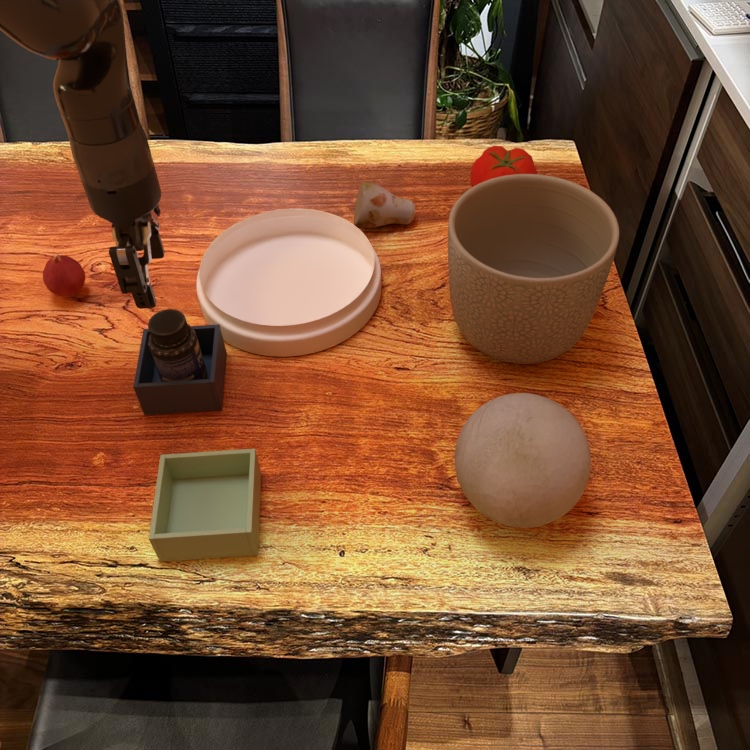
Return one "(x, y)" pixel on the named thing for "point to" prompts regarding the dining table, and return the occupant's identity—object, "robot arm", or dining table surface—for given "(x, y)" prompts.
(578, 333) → the planter
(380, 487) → the dining table surface
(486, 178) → the tomato
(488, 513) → the decorative sphere
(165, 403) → the bin
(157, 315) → the pill bottle
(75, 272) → the onion
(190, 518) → the box
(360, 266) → the plate
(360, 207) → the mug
